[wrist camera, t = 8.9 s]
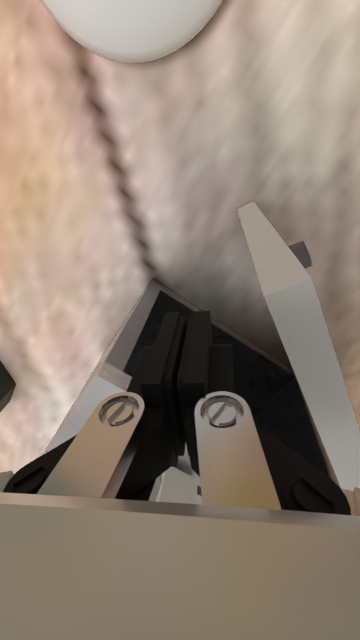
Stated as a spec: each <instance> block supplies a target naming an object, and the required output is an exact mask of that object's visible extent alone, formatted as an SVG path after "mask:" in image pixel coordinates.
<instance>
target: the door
mask: <svg viewBox="0 0 360 640" xmlns="http://www.w3.org/2000/svg"><path fill="white" fill-rule="evenodd" d="M237 212H238V215H239V218H240V221H241V225H242V228H243V231H244V234H245V238H246V241H247V244H248V247H249V251H250V254H251V257H252V260H253V264H254V267H255V270H256V273H257V277H258V280H259V283H260V286H261V290H262V293H263V296H264V299H265V301H266V304H267V306H268V309H269V311H270V313H271V316H272V318H273V321H274V323H275V326H276V328H277V331H278V333H279V336H280V338H281V341H282V343H283V346H284V348H285V351H286V353H287V356H288V358H289V361H290V363H291V365H292V368H293V370H294V373H295V375H296V378H297V380H298V383H299V385H300V388H301V390H302V393H303V395H304V398H305V400H306V403H307V405H308V408H309V410H310V413H311V415H312V417H313V420H314V422H315V425H316V427H317V430H318V432H319V435H320V437H321V440H322V442H323V445H324V447H325V450H326V452H327V455H328V457H329V460H330V462H331V465H332V467H333V470H334V472H335V474H336V477H337V479H338V482H339V484H340V487H341V488H342V489H346V490H350V491H354V488H355V487H357V488H360V429H359V426H358V423H357V420H356V416H355V413H354V410H353V407H352V404H351V401H350V397H349V394H348V391H347V388H346V385H345V382H344V378H343V375H342V372H341V369H340V366H339V363H338V359H337V356H336V353H335V350H334V347H333V343H332V340H331V337H330V334H329V331H328V328H327V324H326V321H325V318H324V315H323V312H322V309H321V305H320V302H319V299H318V296H317V293H316V290H315V286H314V283H313V280H312V277H311V276H310V275H309V274H308V272H307V271H306V270H305V268H307V267H310V266H312V263H311V259H310V255H309V253H308V250H307V248H306V246H305V244H304V242H303V241H301V242H299V243H296V244H294V245H292V246H289V247H288V246H287V244H286V243H285V242H284V241H283V239H282V238H281V237H280V235H279V234H278V233H277V231H276V230H275V229H274V227H273V226H272V225H271V223H270V222H269V221H268V219H267V218H266V217H265V215H264V214H263V213H262V212H261V210H260V209H259V208H258V206H257V205H256V204H255V202H254V201H252V202H250V203H248V204H246V205H244V206H242V207H240V208H238V209H237Z"/></svg>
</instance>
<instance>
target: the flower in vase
mask: <svg viewBox="0 0 360 640" xmlns="http://www.w3.org/2000/svg"><path fill="white" fill-rule="evenodd" d="M41 1H42V2H43V4H44V5H45V7H46V8H47V10H48V11H49V13H50V14H51V15H52V16H53V18H54V19H55V20H56V21H57V23H58V24H59V25H60V26H61V27H62V28H63V29H64V30H65V31H66V32H67V33H68V34H69V35H70V36H71V37H72V38H73V39H74V40H75V41H77V42H78V43H79V44H81V45H82V46H83V47H85V48H86V49H88V50H90V51H91V52H93V53H95V54H97V55H99V56H102V57H104V58H107V59H109V60H113V61H118V62H122V63H142V62H149V61H153V60H156V59H159V58H162V57H165V56H167V55H169V54H171V53H173V52H175V51H177V50H178V49H179V48H181V47H182V46H184V45H185V44H186V43H188V42H189V41H190V40H191V39H192V38H193V37H194V36H196V35H197V34H198V33H199V32H200V31H201V30H202V29H203V27H204V26H205V25H206V24H207V23H208V21H209V20H210V19H211V18H212V16H213V15H214V14H215V12H216V11H217V9H218V7H219V6H220V4H221V3H222V1H223V0H41Z"/></svg>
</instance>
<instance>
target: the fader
mask: <svg viewBox="0 0 360 640" xmlns="http://www.w3.org/2000/svg"><path fill="white" fill-rule="evenodd" d="M197 486H198V479H196V478H194V477H192V476H190V475H188V474H186V473H184V472H182V471H180V470H178V469H176V468H174V467H170V468H169V469H168V470H166V471H165V472H164V473H162V483H161V487H160V489H159V492H158V495H157V498H156V501H155V502H171V503H187V504H196V500H197Z"/></svg>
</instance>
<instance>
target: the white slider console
mask: <svg viewBox="0 0 360 640" xmlns="http://www.w3.org/2000/svg"><path fill="white" fill-rule="evenodd" d="M195 311H202V310H201V309H199V308H197V307H196V306H194V305H193V304H191V303H190V302H188V301H187V300H185V299H184V298H182V297H181V296H179V295H177V294H176V293H174V292H173V291H171V290H170V289H168V288H167V287H165V286H164V285H162V284H160V283H159V282H157V281H156V280H154V279H153V278H152V280H151V281H150V283H149V284H148V286H147V287H146V289H145V290H144V292H143V294H142V295H141V297H140V298H139V300H138V301H137V303H136V304H135V306H134V307H133V309H132V311H131V312H130V314H129V315H128V317H127V318H126V320H125V321H124V323H123V325H122V326H121V328H120V329H119V331H118V332H117V334H116V335H115V337H114V339H113V340H112V342H111V343H110V345H109V346H108V348H107V349H106V351H105V352H104V354H103V356H102V357H101V359H100V361H99V362H98V364H97V366H96V367H95V369H94V370H93V372H92V374H91V375H90V377H89V379H88V380H87V382H86V384H85V385H84V387H83V389H82V390H81V392H80V394H79V395H78V397H77V399H76V400H75V402H74V404H73V405H72V407H71V409H70V410H69V412H68V414H67V415H66V417H65V419H64V420H63V422H62V424H61V425H60V427H59V429H58V430H57V432H56V434H55V435H54V437H53V439H52V440H51V442H50V444H49V445H48V447H47V449H46V450H45V452H44V454H45V453H47V452H49V451H50V450H52V449H54V448H55V447H57V446H59V445H60V444H62V443H64V442H65V441H67V440H69V439H70V438H72V437H74V436H75V435H77V434H78V433H79V432H80V430H81V429H82V427H83V426H84V424H85V423H86V421H87V420H88V419H89V417H90V416H91V414H92V413H93V411H94V410H95V408H96V407H97V406H98V405H99V404H100V402H101V401H103V400H104V399H106V398H107V397H109V396H111V395H113V394H116V393H120V392H126V391H127V389H128V386H129V384H130V381H131V379H132V377H133V374H134V372H135V369H136V367H137V364H138V362H139V359H140V357H141V354H142V352H143V350H144V348H145V347H152V346H154V343H155V340H156V338H157V335H158V332H159V329H160V326H161V324H162V321H163V318H164V315H165V313H175V312H180V313H181V316H186V318H187V326H188V321H189V316H190V315H195ZM211 327H212V339H213V344H232V357H233V375H234V393H235V394H236V395H238V396H240V397H242V398H243V399H244V400H245V401H246V402H247V404H248V406H249V408H250V411H251V414H252V417H253V421H254V423H255V424H256V425H257V426H259V427H260V428H261V429H263V430H264V431H266V432H267V433H268V434H270V435H271V436H273V437H274V438H275V439H277V440H278V441H279V442H281V443H282V444H284V445H285V446H286V447H288V448H289V449H291V450H292V451H293V452H295V453H296V454H297V455H299V456H300V457H302V458H303V459H304V460H306V461H307V462H309V463H310V464H311V465H313V466H314V467H315V468H317V469H318V470H320V471H321V472H322V473H324V474H325V475H327V476H328V477H329V478H330V479H332V480H333V481H334V482H335V483H336V484H337V485H338V486H339V487H340V484H339V482H338V479H337V477H336V474H335V472H334V470H333V467H332V465H331V462H330V460H329V457H328V455H327V452H326V450H325V447H324V445H323V442H322V440H321V437H320V435H319V432H318V430H317V427H316V425H315V422H314V420H313V417H312V415H311V413H310V410H309V408H308V405H307V403H306V400H305V398H304V395H303V393H302V390H301V388H300V385H299V383H298V380H297V378H296V375H295V373H294V370H293V369H292V368H290V367H289V366H287V365H286V364H284V363H282V362H281V361H279V360H278V359H276V358H275V357H273V356H272V355H270V354H269V353H267V352H265V351H264V350H262V349H261V348H259V347H258V346H256V345H255V344H253V343H252V342H250V341H248V340H247V339H245V338H244V337H242V336H241V335H239V334H238V333H236V332H235V331H233V330H231V329H230V328H228V327H227V326H225V325H224V324H222V323H221V322H219V321H218V320H216V319H214V318H213V317H211ZM44 454H43V455H44ZM174 468H176V469H178V470H180V471H182V472H184V473H186V474H188V475H190V476H192V477H194V478H196V479H198V486H197V500H196V504H202V493H201V482H200V477H199V476H198V475H197V474H196V473H195V472H194V470H193V469H192V468H191V463H190V457H189V456H188V451H187V445H185V453H184V456H178V463H177V467H174ZM340 488H341V487H340Z"/></svg>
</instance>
